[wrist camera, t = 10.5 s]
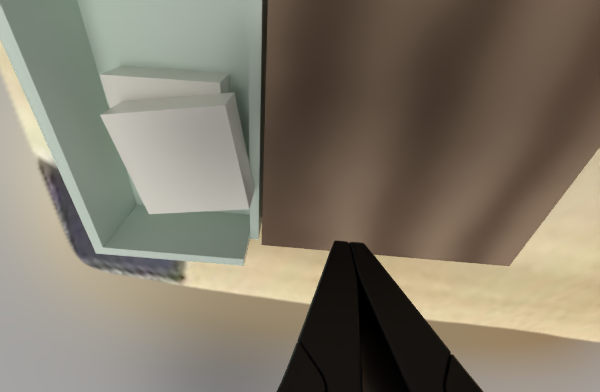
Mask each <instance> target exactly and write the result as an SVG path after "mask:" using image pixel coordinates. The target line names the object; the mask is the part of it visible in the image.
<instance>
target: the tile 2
mask: <svg viewBox="0 0 600 392" xmlns="http://www.w3.org/2000/svg"><path fill="white" fill-rule="evenodd" d="M100 116H101V118H102V120H103V122H104V124H105V126H106V128H107V130H108V132H109V134H110V136H111V138H112V140H113V142H114V144H115V147H116V149H117V151H118V153H119V155H120V157H121V159H122V161H123V163H124V165H125V167H126V169H127V171H128V173H129V175H130V177H131V179H132V181H133V183H134V185H135V187H136V189H137V191H138V193H139V195H140V197H141V199H142V201H143V203H144V205H145V207H146V209H147V211H148V213H149V214H164V213H183V212H202V211H222V210H241V209H250V205H251V201H252V198H253V194H254V190H255V188H254V184H253V179H252V174H251V169H250V165H249V160H248V155H247V150H246V146H245V141H244V136H243V131H242V127H241V122H240V117H239V112H238V108H237V103H236V98H235V93H234V92H233V93H220V94H208V95H195V96H183V97H170V98H158V99H145V100H133V101H122V102H120V103H119V104H117V105H115V106H114V107H112V108H110V109H109V110H107V111H105V112H104V113H102V114H100Z"/></svg>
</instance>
